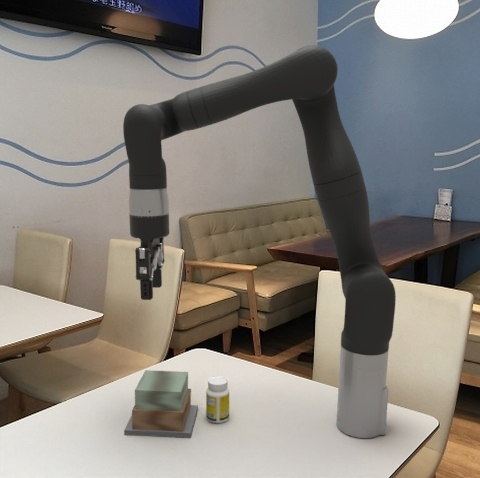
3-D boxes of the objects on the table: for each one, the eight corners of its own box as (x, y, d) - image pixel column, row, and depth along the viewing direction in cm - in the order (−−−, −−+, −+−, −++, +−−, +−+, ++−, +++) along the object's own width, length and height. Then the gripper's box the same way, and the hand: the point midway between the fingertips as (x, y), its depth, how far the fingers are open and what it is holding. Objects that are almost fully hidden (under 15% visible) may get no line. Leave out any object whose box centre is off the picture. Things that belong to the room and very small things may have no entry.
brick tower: (190, 406, 115) (190, 370, 114) (183, 431, 106) (183, 393, 104) (144, 404, 116) (143, 369, 114) (132, 429, 106) (131, 391, 105)
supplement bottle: (229, 412, 115) (229, 375, 114) (229, 423, 111) (229, 385, 109) (206, 412, 115) (206, 375, 113) (205, 423, 110) (205, 385, 109)
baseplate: (198, 409, 116) (198, 405, 116) (190, 437, 105) (190, 433, 105) (138, 407, 117) (137, 402, 116) (124, 434, 106) (124, 430, 106)
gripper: (161, 217, 97) (163, 304, 100) (174, 207, 111) (176, 283, 114) (119, 217, 98) (123, 303, 101) (138, 206, 111) (141, 283, 115)
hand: (151, 292), depth 107 cm, fingers open, 8 cm apart
